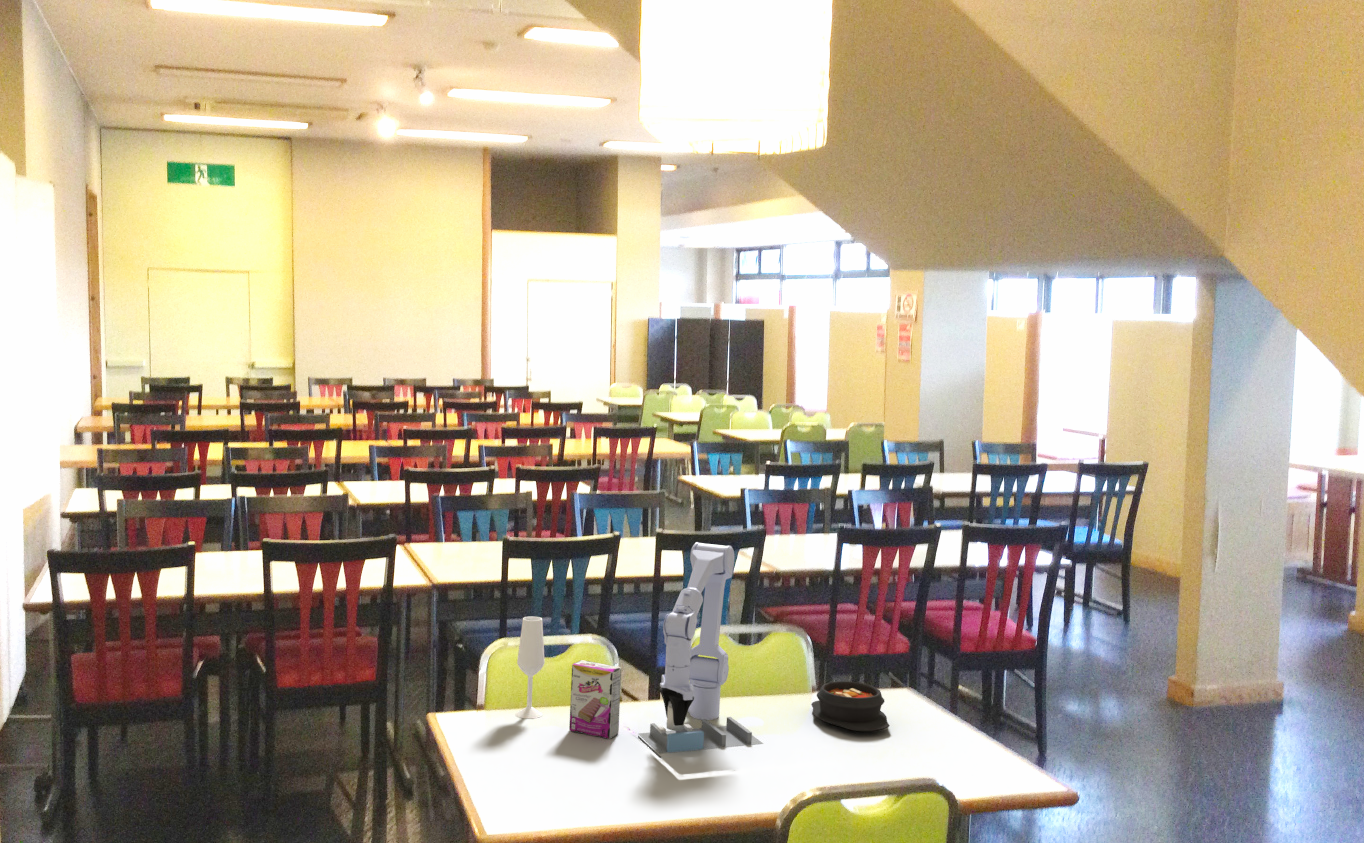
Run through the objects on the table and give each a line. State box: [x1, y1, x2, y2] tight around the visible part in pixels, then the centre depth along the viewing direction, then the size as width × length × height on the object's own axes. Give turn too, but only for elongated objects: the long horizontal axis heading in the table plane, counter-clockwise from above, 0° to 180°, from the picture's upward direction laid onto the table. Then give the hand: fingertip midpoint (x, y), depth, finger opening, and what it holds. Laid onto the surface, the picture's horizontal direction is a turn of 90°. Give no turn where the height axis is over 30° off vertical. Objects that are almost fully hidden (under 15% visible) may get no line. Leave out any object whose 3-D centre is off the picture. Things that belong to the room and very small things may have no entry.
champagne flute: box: [515, 616, 546, 720], centre depth 297 cm, size 7×7×24 cm
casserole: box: [811, 681, 890, 732], centre depth 304 cm, size 25×19×8 cm
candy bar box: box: [569, 659, 622, 740], centre depth 286 cm, size 11×5×16 cm, turn 65°
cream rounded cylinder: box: [666, 701, 684, 731], centre depth 280 cm, size 4×4×6 cm
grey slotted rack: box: [637, 716, 764, 759], centre depth 283 cm, size 14×26×5 cm, turn 112°
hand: (675, 721), depth 280 cm, fingers closed on cream rounded cylinder, 4 cm apart
